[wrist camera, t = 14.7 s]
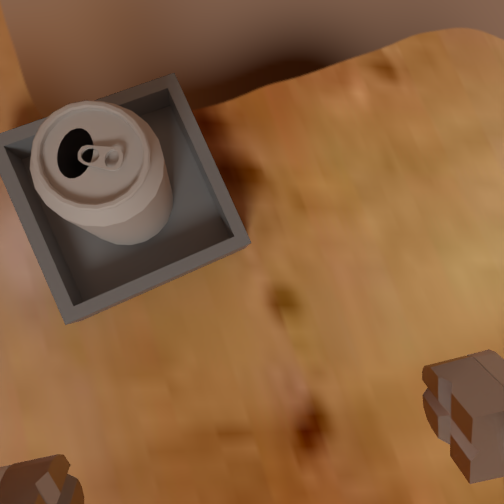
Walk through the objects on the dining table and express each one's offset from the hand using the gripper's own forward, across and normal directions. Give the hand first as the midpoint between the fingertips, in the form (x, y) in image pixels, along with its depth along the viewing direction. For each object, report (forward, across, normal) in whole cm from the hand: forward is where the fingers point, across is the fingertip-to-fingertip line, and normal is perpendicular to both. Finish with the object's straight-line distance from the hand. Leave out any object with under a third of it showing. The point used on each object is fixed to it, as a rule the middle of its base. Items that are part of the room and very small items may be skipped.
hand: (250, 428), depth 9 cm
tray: (+27, +8, +1) cm, 28 cm away
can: (+27, +8, 0) cm, 28 cm away
